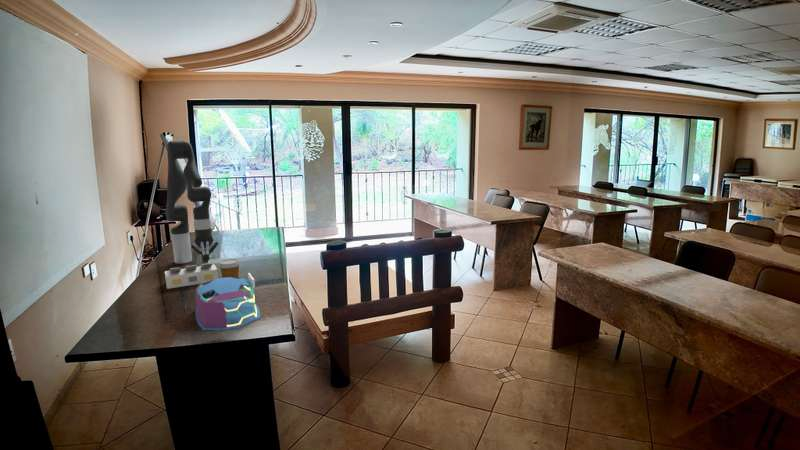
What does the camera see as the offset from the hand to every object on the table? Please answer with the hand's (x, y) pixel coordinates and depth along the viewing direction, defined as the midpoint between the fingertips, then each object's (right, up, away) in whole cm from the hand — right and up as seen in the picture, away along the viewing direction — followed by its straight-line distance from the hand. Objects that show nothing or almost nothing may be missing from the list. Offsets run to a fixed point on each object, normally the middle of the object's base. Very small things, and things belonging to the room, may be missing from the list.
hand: (206, 261), depth 217 cm
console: (-7, -10, +1) cm, 13 cm away
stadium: (+25, -19, -37) cm, 49 cm away
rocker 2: (-8, -3, 0) cm, 8 cm away
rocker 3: (-1, -2, +3) cm, 4 cm away
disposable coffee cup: (+14, -11, -4) cm, 18 cm away
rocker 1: (-14, -4, -4) cm, 15 cm away
